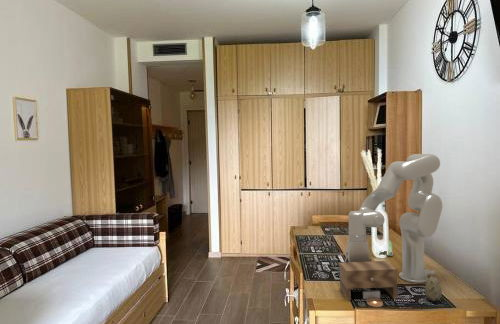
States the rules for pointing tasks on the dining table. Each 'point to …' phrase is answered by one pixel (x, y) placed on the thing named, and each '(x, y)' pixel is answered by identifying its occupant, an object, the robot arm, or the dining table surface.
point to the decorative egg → (433, 289)
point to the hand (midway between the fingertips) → (358, 276)
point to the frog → (390, 249)
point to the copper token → (374, 302)
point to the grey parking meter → (370, 293)
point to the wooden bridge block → (368, 277)
